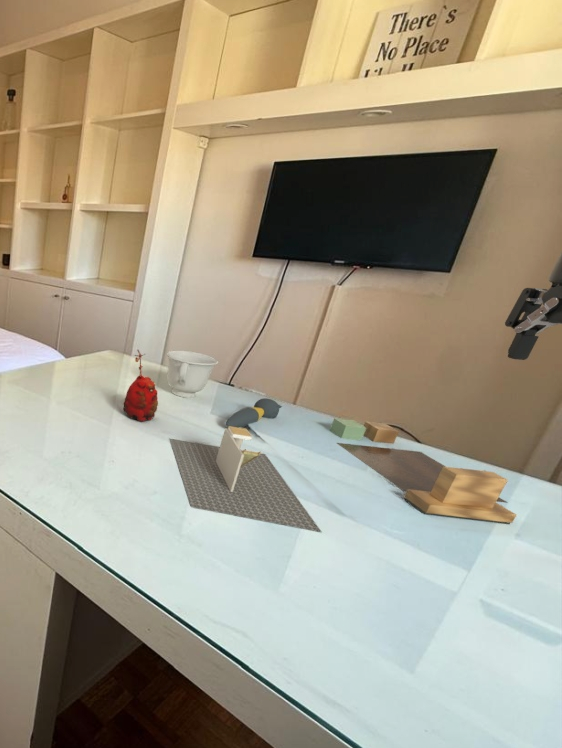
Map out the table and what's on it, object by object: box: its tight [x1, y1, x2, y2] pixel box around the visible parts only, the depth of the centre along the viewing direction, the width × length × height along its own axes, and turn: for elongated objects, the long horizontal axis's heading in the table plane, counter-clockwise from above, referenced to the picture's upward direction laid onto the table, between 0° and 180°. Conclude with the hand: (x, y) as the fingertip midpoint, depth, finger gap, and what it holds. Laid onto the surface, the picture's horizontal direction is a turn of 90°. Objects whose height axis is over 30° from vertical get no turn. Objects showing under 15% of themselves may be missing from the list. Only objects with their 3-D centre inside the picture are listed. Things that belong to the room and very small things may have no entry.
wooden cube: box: [363, 421, 400, 445], centre depth 95 cm, size 4×4×4 cm
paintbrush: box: [225, 397, 283, 428], centre depth 101 cm, size 20×5×5 cm, turn 126°
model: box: [215, 426, 262, 492], centre depth 77 cm, size 3×11×8 cm, turn 165°
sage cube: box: [329, 417, 366, 441], centre depth 96 cm, size 4×4×4 cm
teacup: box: [166, 350, 219, 399], centre depth 115 cm, size 12×15×10 cm
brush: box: [403, 466, 517, 525], centre depth 69 cm, size 12×4×8 cm, turn 83°
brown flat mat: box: [336, 442, 509, 504], centre depth 83 cm, size 16×18×1 cm
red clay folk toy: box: [122, 349, 159, 422], centre depth 99 cm, size 8×7×15 cm
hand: (545, 366), depth 65 cm, fingers open, 8 cm apart
